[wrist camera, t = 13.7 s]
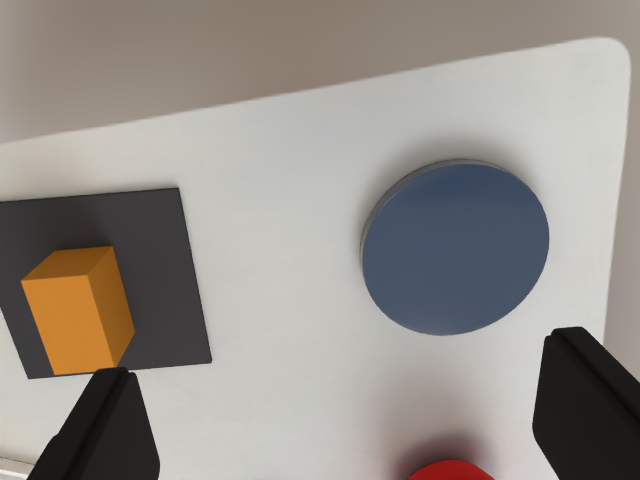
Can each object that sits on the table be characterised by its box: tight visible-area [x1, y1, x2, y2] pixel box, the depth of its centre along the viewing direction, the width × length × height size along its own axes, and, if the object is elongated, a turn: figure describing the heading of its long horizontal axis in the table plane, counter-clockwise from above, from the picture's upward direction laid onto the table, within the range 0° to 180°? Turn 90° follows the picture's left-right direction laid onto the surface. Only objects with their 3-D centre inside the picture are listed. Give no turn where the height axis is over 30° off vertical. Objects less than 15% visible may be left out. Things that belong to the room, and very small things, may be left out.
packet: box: [21, 246, 135, 375], centre depth 36 cm, size 8×4×5 cm, turn 4°
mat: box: [0, 188, 212, 379], centre depth 38 cm, size 16×16×1 cm
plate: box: [360, 159, 549, 336], centre depth 38 cm, size 15×15×2 cm
